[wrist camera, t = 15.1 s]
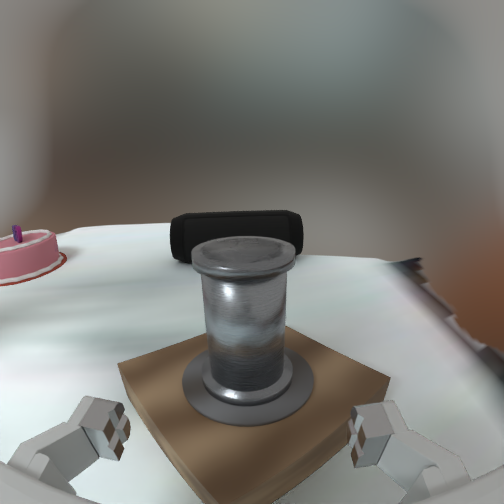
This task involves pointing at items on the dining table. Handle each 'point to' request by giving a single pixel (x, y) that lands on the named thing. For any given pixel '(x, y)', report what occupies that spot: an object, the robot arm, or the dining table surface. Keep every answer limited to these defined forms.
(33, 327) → the dining table surface
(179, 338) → the dining table surface
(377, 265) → the dining table surface
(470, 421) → the dining table surface
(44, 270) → the cake
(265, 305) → the cylinder
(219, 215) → the portable speaker
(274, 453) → the stand
